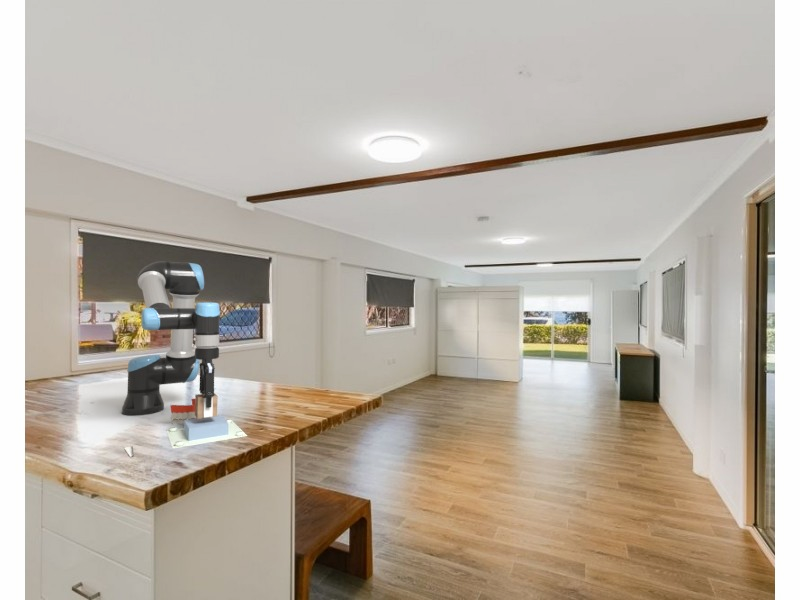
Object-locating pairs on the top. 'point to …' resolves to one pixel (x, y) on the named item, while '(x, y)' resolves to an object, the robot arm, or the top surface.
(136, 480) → the top surface
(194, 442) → the build plate
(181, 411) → the toy
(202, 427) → the base brick
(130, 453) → the page
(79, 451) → the top surface
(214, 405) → the walnut block
